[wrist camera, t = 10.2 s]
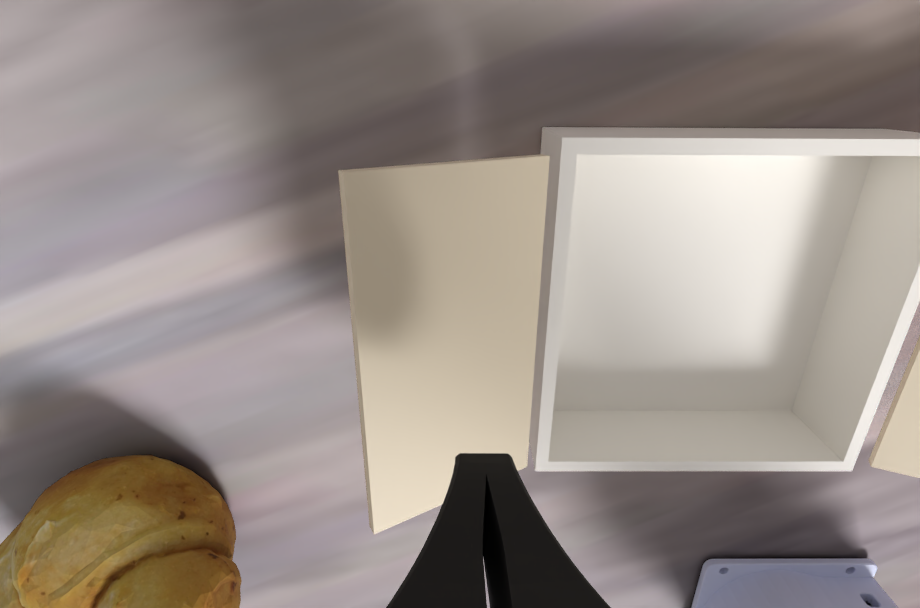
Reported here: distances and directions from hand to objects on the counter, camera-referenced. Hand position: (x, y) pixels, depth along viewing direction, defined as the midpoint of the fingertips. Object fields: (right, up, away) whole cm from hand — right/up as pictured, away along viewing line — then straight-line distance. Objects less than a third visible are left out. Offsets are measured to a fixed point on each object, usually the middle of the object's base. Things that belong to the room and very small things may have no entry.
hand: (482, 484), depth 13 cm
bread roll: (-18, -7, +14) cm, 24 cm away
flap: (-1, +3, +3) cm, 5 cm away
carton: (+9, +5, +9) cm, 14 cm away
